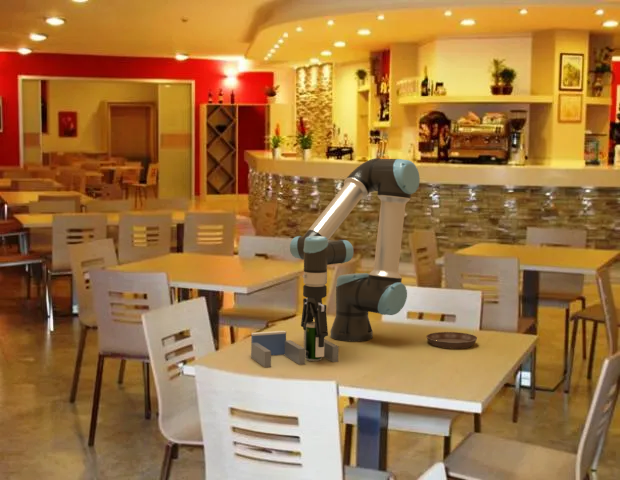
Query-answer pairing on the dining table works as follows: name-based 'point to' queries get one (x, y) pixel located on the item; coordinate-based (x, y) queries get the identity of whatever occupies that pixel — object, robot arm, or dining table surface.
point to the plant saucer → (451, 339)
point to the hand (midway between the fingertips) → (313, 353)
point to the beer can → (311, 342)
